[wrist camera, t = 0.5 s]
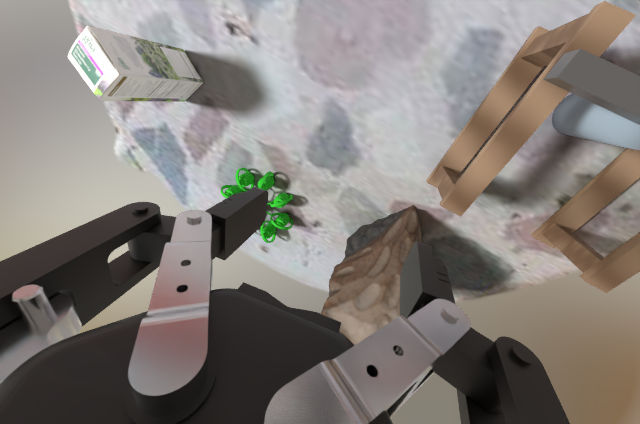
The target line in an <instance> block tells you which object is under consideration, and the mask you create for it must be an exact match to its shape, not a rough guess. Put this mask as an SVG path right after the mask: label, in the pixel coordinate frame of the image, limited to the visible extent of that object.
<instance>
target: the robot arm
mask: <svg viewBox="0 0 640 424" xmlns="http://www.w3.org/2000/svg"><path fill="white" fill-rule="evenodd" d="M267 202H268V192H267V191H266V190H263V189H260V188H257V187H252V188H251V189H249V190H248V191H246V192H241V193H236V194H233V195H231V196H230V197H228V198H227V199H225V200H223V201H222V202H220V203H218V204H216V205H215V206H213V207H211V208H210V209H208V210H206V211H201V210H189V211H185V212H182V213H181V214H179V215H178V216H177V217H172V216H164V215H161V214H160V207H159V206H158V205H156V204H154V203H150V202H137V203H132V204H129V205H126V206H124V207H122V208H119V209H117V210H115V211H113V212H110V213H108V214H106V215H104V216H101V217H99V218H97V219H95V220H92V221H90V222H88V223H86V224H84V225H81V226H79V227H77V228H75V229H72V230H70V231H68V232H66V233H63V234H61V235H59V236H57V237H54V238H52V239H50V240H48V241H45V242H43V243H41V244H39V245H36V246H35V247H32V248H30V249H28V250H25V251H23V252H21V253H19V254H17V255H14V256H12V257H10V258H7V259H5V260H3V261H1V262H0V424H393V423H392V421H391V417H393V416H394V414H395V413H396V412H397V411H398V410H399V409H400V408H401V406H402V405H403V404H404V403H405V402H406V401H407V400H408V399H409V398H410V397H411V396H412V395H413V394H414V393H415V392H416V391H417V390H418V389H419V388H420V387H421V386H422V385H423V384H424V383H425V382H426V380H427V379H429V377H430V376H431V375H432V374H433V373H434V372H435V373H436V374H438V375H439V376H440V377H442V378H443V379H444V380H446V381H447V382H448V383H450V384H451V385H452V386H454V387H455V388H457V394H458V402H459V410H460V418H461V424H570V423H569V421H568V419H567V417H566V414H565V412H564V410H563V408H562V406H561V403H560V401H559V399H558V397H557V395H556V393H555V391H554V388H553V386H552V384H551V382H550V380H549V378H548V375H547V373H546V371H545V369H544V367H543V365H542V363H541V362H540V360H539V359H538V358H537V357H536V355H535V354H534V353H533V352H532V351H531V350H529V349H528V348H527V347H526V346H524V345H523V344H521V343H520V342H518V341H516V340H514V339H512V338H509V337H499V338H498V339H497V340H496V341H495V342H492V341H491V340H490V339H488V338H486V337H485V336H483V335H481V334H480V333H478V332H477V331H475V330H474V329H472V328H471V327H470V326H471V323H470V320H469V318H468V316H467V315H466V313H465V312H464V311H463V310H462V309H461V308H460V307H458V306H457V305H456V304H455V301H454V297H453V293H452V289H451V285H450V284H449V283H450V281H449V277H448V274H447V270H446V267H445V266H444V265H443V263H442V262H441V261H440V260H439V259H436V258H434V254H433V249H432V246H429V245H426V244H423V243H420V242H417V241H416V242H415V243H414V244H413V246H412V248H411V250H410V252H409V254H408V256H407V258H406V260H405V262H404V264H403V267H402V270H401V274H400V316H399V317H398V318H396V319H395V320H393V321H391V322H390V323H388V324H387V325H385V326H384V327H382V328H381V329H379V330H378V331H376V332H375V333H373V334H372V335H370V336H368V337H367V338H365V339H364V340H362V341H361V342H359V343H358V344H356V345H354V344H353V343H352V342H351V341H350V340H349V339H348V338H347V337H346V336H345V335H344V334H343V333H341V332H340V331H339V330H340V326H341V322H339V321H337V320H334V319H332V318H329V317H327V316H324V315H322V314H320V313H317V312H312V311H307V310H301V309H295V308H290V307H287V306H285V305H284V304H282V303H281V302H280V301H278V300H277V299H275V298H274V297H273V296H271V295H270V294H269V293H267V292H266V291H263V290H261V289H258V288H256V287H253V286H251V285H248V284H246V283H243V284H242V285H241V286H240V287H239V288H238V289H216V290H212V260H213V259H214V258H215V257H218V258H220V259H223V260H226V259H227V258H228V257H229V256H230V255H231V254H232V253H233V252H234V251H235V250H236V249H237V248H239V247H240V246H241V245H242V244H243V243H244V242H245V241H246V240H247V239H248V238H249V237H250V236H251V235H252V234H253V233H254V232H256V231H257V230H258V229H259V228H260V227H261V226H262V224H263V223H264V221H265V218H266V211H267ZM125 243H128V247H129V251H127V252H126V253H124V254H122V255H121V256H119V257H118V258H116V259H115V260H113V261H111V262H110V263H108V262H107V261H108V257H109V255H110V253H111V252H112V251H113V250H115V249H116V248H118V247H120V246H121V245H123V244H125ZM158 267H159V270H158V274H157V278H156V281H155V286H154V289H153V293H152V297H151V301H150V305H149V308H148V311H147V312H144V313H141V314H138V315H135V316H132V317H129V318H126V319H123V320H120V321H117V322H114V323H110V324H107V325H105V326H101V327H99V328H95V329H93V330H89V331H86V332H83V333H80V334H78V333H79V332H80V330H81V327H82V326H83V325H85V324H86V323H87V322H88V321H90V320H91V319H92V318H93V317H95V316H96V315H97V314H99V313H100V312H101V311H103V310H104V309H105V308H106V307H108V306H109V305H110V304H111V303H113V302H114V301H115V300H117V299H118V298H119V297H120V296H122V295H123V294H124V293H125V292H127V291H128V290H129V289H131V288H132V287H133V286H135V285H136V284H137V283H138V282H140V281H141V280H142V279H144V278H145V277H146V276H147V275H149V274H150V273H151V272H152V271H154V270H155V269H156V268H158Z"/></svg>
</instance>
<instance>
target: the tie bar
mask: <svg viewBox="0 0 640 424" xmlns="http://www.w3.org/2000/svg"><path fill="white" fill-rule="evenodd" d="M543 80H546V81H548V82H550V83H552V84H554V85H556V86H558V87H560V88H562V89H565V90H567V91H569V92H571V93H573V94H575V95H577V96H579V97H582V98H584V99H586V100H588V101H590V102H592V103H594V104H596V105H598V106H601V107H603V108H605V109H607V110H609V111H611V112H613V113H615V114H617V115H620V116H622V117H624V118H626V119H628V120H630V121H632V122H634V123H637V124H639V125H640V76H639V75H637V74H635V73H633V72H630V71H628V70H626V69H624V68H622V67H620V66H617V65H615V64H613V63H611V62H609V61H606V60H604V59H602V58H600V57H598V56H596V55H593V54H591V53H589V52H587V51H585V50H582V49H578V50H574V51H571V52H567V53H564V54H563V56H562V57H561V58H560V59H559V61H558V62H557V63H556V64H555V66H554V67H553V68H552V69H551V71H550V72H549V73H548V74H547V76H546V77H545V78H544V79H543Z"/></svg>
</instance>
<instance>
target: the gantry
mask: <svg viewBox="0 0 640 424" xmlns="http://www.w3.org/2000/svg"><path fill="white" fill-rule="evenodd" d="M635 16H636V15H635V14H632V13H630V12H628V11H626V10H623V9H621V8H619V7H617V6H614V5H612V4H610V3H608V2H605V1H604V2H602V3H600V4H598V5H596V6H595V7H594V8H593V9H592V10H591V12H590V13H589V14H587V15H585V16H582V17H580V18H578V19H576V20H573V21H571V22H569V23H567V24H565V25H562V26H560V27H558V28H556V29H554V30H551V31H548V30H546V29H544V28H542V27H540V26H539V27H537V28H535V29H534V31H533V32H532V34H531V35H530V36H529V38H528V39H527V41H526V42H525V43H524V45H523V46H522V48H521V49H520V50H519V52H518V53H517V55H516V56H515V57H514V59H513V60H512V62H511V63H510V64H509V66H508V67H507V69H506V70H505V71H504V73H503V74H502V76H501V77H500V78H499V80H498V81H497V83H496V84H495V85H494V87H493V88H492V90H491V91H490V92H489V94H488V95H487V97H486V98H485V99H484V101H483V102H482V104H481V105H480V106H479V108H478V109H477V111H476V112H475V113H474V115H473V116H472V118H471V119H470V120H469V122H468V123H467V125H466V126H465V127H464V129H463V130H462V132H461V133H460V134H459V136H458V137H457V139H456V140H455V141H454V143H453V144H452V146H451V147H450V148H449V150H448V151H447V153H446V154H445V155H444V157H443V158H442V160H441V161H440V162H439V164H438V165H437V167H436V168H435V169H434V171H433V172H432V174H431V175H430V176H429V178H428V179H427V183H429V184H431V185H433V186H435V187H437V188H438V190H439V192H440V195H441V197H442V201H441V202H440V205H441V206H442V207H443V208H445V209H447V210H449V211H451V212H453V213H455V214H457V215H459V216H462V214H463V213H464V212H465V211H466V210H467V209H468V208H469V206H470V205H471V204H472V203H473V202H474V201H475V200H476V198H477V197H478V196H479V195H480V194H481V193H482V192H483V190H484V189H485V188H486V187H487V186H488V185H489V183H490V182H491V181H492V180H493V179H494V178H495V177H496V175H497V174H498V173H499V172H500V171H501V170H502V169H503V167H504V166H505V165H506V164H507V163H508V162H509V161H510V159H511V158H512V157H513V156H514V155H515V154H516V152H517V151H518V150H519V149H520V148H521V147H522V146H523V144H524V143H525V142H526V141H527V140H528V139H529V138H530V136H531V135H532V134H533V133H534V132H535V131H536V129H537V128H538V127H539V126H540V125H541V124H542V123H543V121H544V120H545V119H546V118H547V117H548V116H549V115H550V113H551V112H552V111H553V110H554V109H555V108H556V107H557V105H558V104H559V103H560V102H561V101H562V100H563V98H564V97H565V96H566V95H567V94H568V93H569V91H567V90H565V89H562V88H560V87H558V86H556V85H554V84H552V83H550V82H548V81H546V80H543V79H544V78H545V77H546V76H547V74H548V73H549V72H550V71H551V69H552V68H553V67H554V66H555V64H556V63H557V62H558V61H559V59H560V58H561V57H562V56H563V54H564V53H567V52H571V51H574V50H578V49H582V50H585V51H587V52H589V53H591V54H593V55H596V56H598V57H600V56H601V55H602V54H603V53H604V51H605V50H606V49H607V48H608V47H609V46H610V45H611V43H612V42H613V41H614V40H615V39H616V38H617V36H618V35H619V34H620V33H621V32H622V31H623V30H624V28H625V27H626V26H627V25H628V24H629V23H630V22H631V20H632V19H633V18H634V17H635ZM544 66H547V68H546V69H545V70H544V71H543V73H542V74H541V75H540V76H539V78H538V79H537V80H536V81H535V83H534V84H533V85H532V87H531V88H530V89H529V90H528V92H527V93H526V94H525V95H524V97H523V98H522V99H521V101H520V102H519V103H518V104H517V106H516V107H515V108H514V109H513V111H512V112H511V113H510V114H509V116H508V117H507V118H506V120H505V121H504V122H503V123H502V125H501V126H500V127H499V128H498V130H497V131H496V132H495V133H494V135H493V136H492V137H491V139H490V140H489V141H488V142H487V144H486V145H485V146H484V147H483V149H482V150H481V151H480V153H479V154H478V155H477V156H476V158H475V159H474V160H473V161H472V163H471V164H470V165H469V166H468V168H467V169H466V170H465V172H464V173H463V174H462V175H461V177H460V176H459V174H460V173H461V172H462V170H463V169H464V168H465V167H466V165H467V164H468V163H469V162H470V160H471V159H472V158H473V156H474V155H475V154H476V153H477V151H478V150H479V149H480V147H481V146H482V145H483V144H484V142H485V141H486V140H487V138H488V137H489V136H490V135H491V133H492V132H493V131H494V130H495V128H496V127H497V126H498V124H499V123H500V122H501V121H502V119H503V118H504V117H505V115H506V114H507V113H508V112H509V110H510V109H511V108H512V107H513V105H514V104H515V103H516V101H517V100H518V99H519V98H520V96H521V95H522V94H523V92H524V91H525V90H526V89H527V87H528V86H529V85H530V83H531V82H532V81H533V80H534V78H535V77H536V76H537V75H538V73H539V72H540V71H541V69H542V68H543V67H544ZM639 178H640V150H635V149H630V148H627V149H626V150H624V151H623V152H622V153H621V154H620V155H619V156H618V157H617V158H616V159H614V160H613V161H612V162H611V163H610V164H609V165H608V166H607V167H606V168H605V169H603V170H602V171H601V172H600V173H599V174H598V175H597V176H596V177H595V178H593V179H592V180H591V181H590V182H589V183H588V184H587V185H586V186H585V187H583V188H582V189H581V190H580V191H579V192H578V193H577V194H576V195H575V196H574V197H572V198H571V199H570V200H569V201H568V202H567V203H566V204H565V205H564V206H562V207H561V208H560V209H559V210H558V211H557V212H556V213H555V214H554V215H552V216H551V217H550V218H549V219H548V220H547V221H546V222H545V223H544V224H543V225H541V226H540V227H539V228H538V229H537V230H536V231H535V232H534V233H533V234H531V235H532V236H533V237H534V238H535V239H537V240H539V241H541V242H543V243H545V244H547V245H549V246H550V247H552V248H555V247H556V248H558V249H559V250H560V251H561V252H562V253H563V254H564V255H565V256H566V257H567V258H568V259H569V260H570V261H571V262H572V263H573V264H575V265H576V266H577V267H578V268H579V269H580V270H581V271H582V272H583V273H582V274H581V275H580V277H581V278H582V279H583V280H584V281H585V282H587V283H589V284H591V285H593V286H595V287H597V288H598V289H600V290H602V291H604V292H606V293H607V292H608V291H610V290H612V289H613V288H615V287H616V286H618V285H619V284H621V283H622V282H624V281H626V280H627V279H629V278H630V277H632V276H633V275H635V274H637V273H638V272H640V232H639V233H638V234H637V235H635V236H634V237H632V238H631V239H630V240H628V241H627V242H625V243H624V244H623V245H621V246H620V247H619V248H617V249H616V250H614V251H613V252H612V253H610V254H609V255H607V256H606V257H605V258H604V257H603V256H602V255H600V254H599V253H598V252H596V251H595V250H594V249H593V248H591V247H590V246H589V245H587V244H586V243H585V242H584V241H582V240H581V239H580V238H578V237H577V236H576V235H574V234H573V232H575V231H576V230H577V229H578V228H579V227H581V226H582V225H583V224H584V223H585V222H587V221H588V220H589V219H590V218H592V217H593V216H594V215H595V214H596V213H598V212H599V211H600V210H601V209H602V208H604V207H605V206H606V205H607V204H609V203H610V202H611V201H612V200H613V199H615V198H616V197H617V196H618V195H619V194H621V193H622V192H623V191H624V190H626V189H627V188H628V187H629V186H630V185H632V184H633V183H634V182H635V181H636V180H638V179H639Z"/></svg>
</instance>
